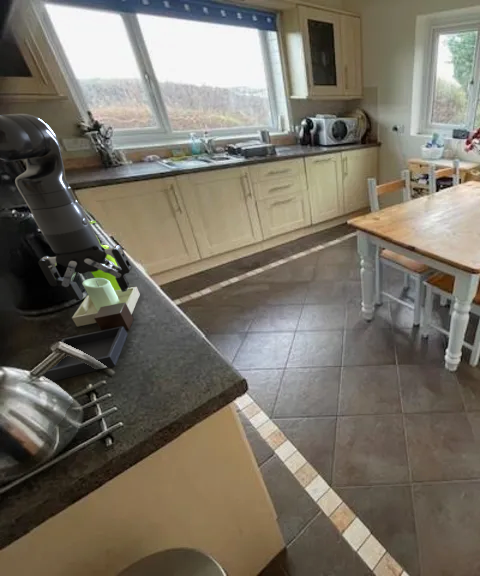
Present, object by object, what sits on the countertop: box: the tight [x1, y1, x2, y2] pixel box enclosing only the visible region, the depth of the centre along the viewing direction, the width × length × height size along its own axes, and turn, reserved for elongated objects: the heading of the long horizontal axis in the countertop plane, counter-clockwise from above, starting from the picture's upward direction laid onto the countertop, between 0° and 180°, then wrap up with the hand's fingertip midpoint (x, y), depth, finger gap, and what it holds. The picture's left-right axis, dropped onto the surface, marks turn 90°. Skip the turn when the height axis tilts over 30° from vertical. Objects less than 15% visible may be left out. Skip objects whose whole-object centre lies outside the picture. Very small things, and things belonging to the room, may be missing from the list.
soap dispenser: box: [89, 220, 120, 291], centre depth 89 cm, size 6×7×20 cm
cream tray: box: [71, 286, 141, 327], centre depth 85 cm, size 11×11×3 cm
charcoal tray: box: [44, 326, 128, 382], centre depth 69 cm, size 11×11×3 cm
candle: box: [81, 277, 120, 311], centre depth 83 cm, size 5×5×8 cm
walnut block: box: [94, 303, 134, 332], centre depth 78 cm, size 5×5×5 cm
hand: (103, 294), depth 74 cm, fingers open, 8 cm apart
